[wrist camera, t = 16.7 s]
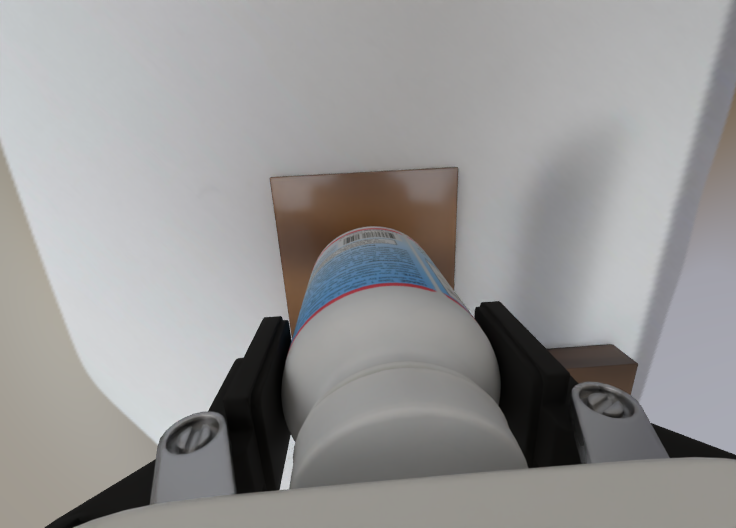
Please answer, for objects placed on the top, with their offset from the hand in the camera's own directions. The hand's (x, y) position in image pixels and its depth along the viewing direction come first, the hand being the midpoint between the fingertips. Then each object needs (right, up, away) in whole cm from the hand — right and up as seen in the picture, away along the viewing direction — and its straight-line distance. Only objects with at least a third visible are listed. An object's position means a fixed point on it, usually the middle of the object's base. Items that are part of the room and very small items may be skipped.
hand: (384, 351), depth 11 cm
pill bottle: (0, +2, +6) cm, 6 cm away
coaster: (0, +3, +9) cm, 9 cm away
